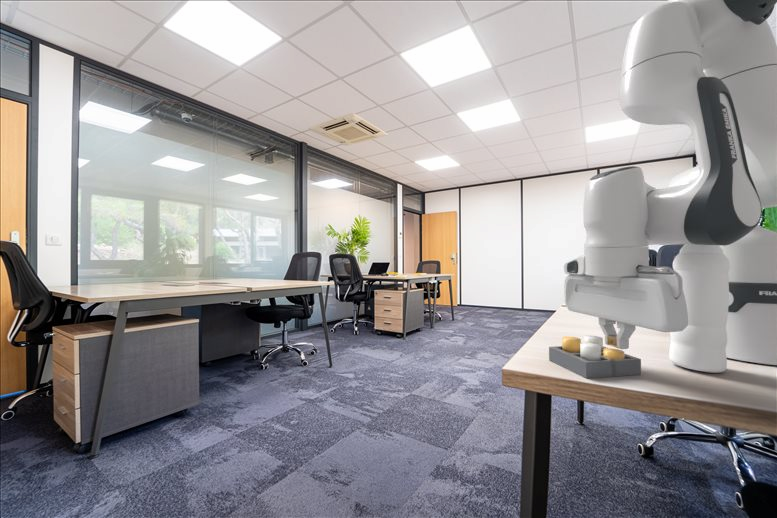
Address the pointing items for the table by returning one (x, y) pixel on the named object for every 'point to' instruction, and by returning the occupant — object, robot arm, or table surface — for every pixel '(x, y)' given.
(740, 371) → the table surface
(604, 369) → the grey egg tray
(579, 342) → the button
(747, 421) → the table surface
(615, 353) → the button
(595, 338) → the button
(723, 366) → the water bottle
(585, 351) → the button
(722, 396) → the table surface
